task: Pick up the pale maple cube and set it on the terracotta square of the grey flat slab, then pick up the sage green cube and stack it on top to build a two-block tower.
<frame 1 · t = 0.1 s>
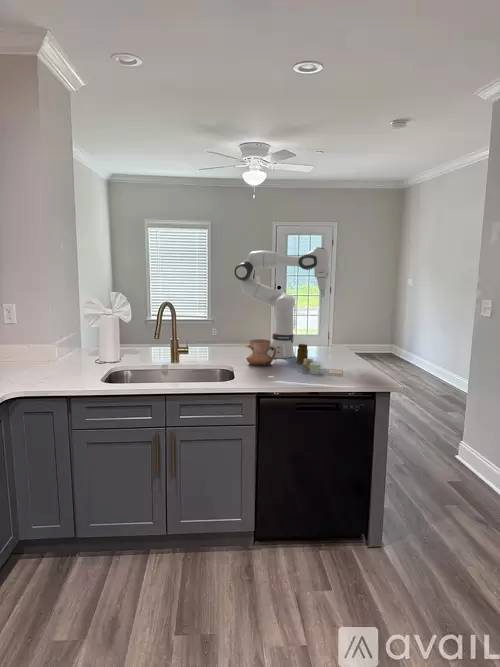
hand: (322, 296, 267), 39 cm above the countertop, tool pointing down, fingers open, 8 cm apart
ceramic jug: (260, 365, 251), on the countertop
grey flat slab: (322, 373, 234), on the countertop
condiment: (302, 365, 253), on the countertop
maple block: (308, 368, 240), point 1 cm above the countertop, touching grey flat slab
sage block: (314, 373, 231), point 1 cm above the countertop, touching grey flat slab
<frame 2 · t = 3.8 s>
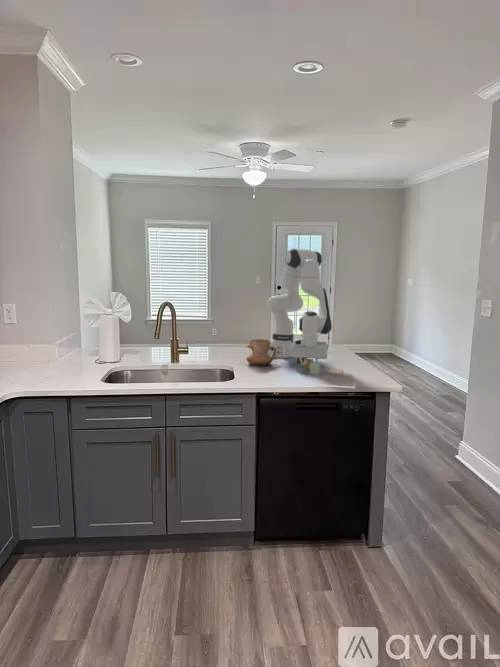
hand: (308, 365, 240), 3 cm above the countertop, tool pointing down, fingers closed on maple block, 5 cm apart
maple block: (308, 368, 240), point 1 cm above the countertop, touching grey flat slab, gripper
everything else where it was.
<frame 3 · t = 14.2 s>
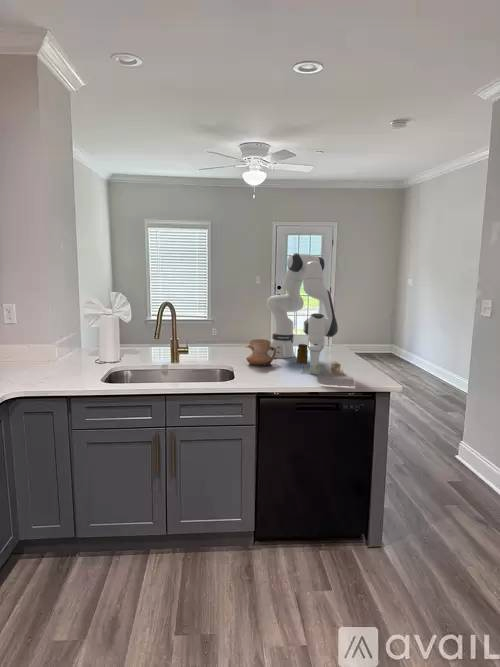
hand: (314, 370, 230), 3 cm above the countertop, tool pointing down, fingers closed on sage block, 5 cm apart
maple block: (335, 371, 233), point 1 cm above the countertop, touching grey flat slab
sage block: (314, 373, 231), point 1 cm above the countertop, touching grey flat slab, gripper
everything else where it was.
when the fingers open (9 cm above the countertop, at t = 19.0 s): sage block drops 1 cm, resting on maple block.
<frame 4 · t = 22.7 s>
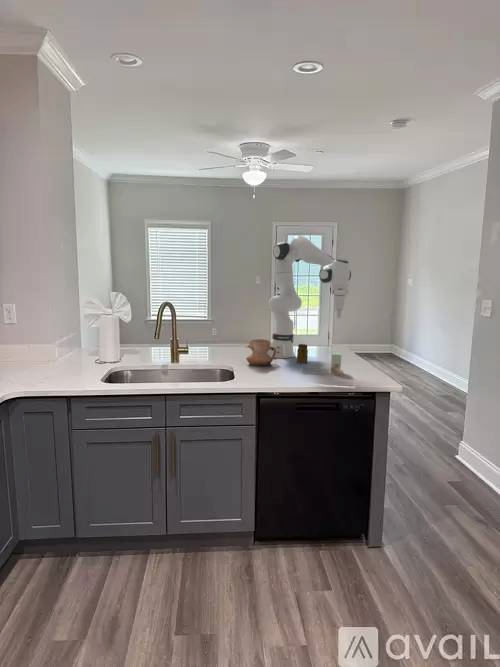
hand: (338, 316, 228), 31 cm above the countertop, tool pointing down, fingers open, 8 cm apart
maple block: (335, 371, 233), point 1 cm above the countertop, touching grey flat slab, sage block
sage block: (336, 362, 233), point 6 cm above the countertop, touching maple block
everything else where it was.
at the end: maple block 0.1 cm from the target spot, point 1.2 cm above the countertop; sage block 0.1 cm off-centre on the maple block, point 5.0 cm above the maple block's base; sage block tilted 0° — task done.
